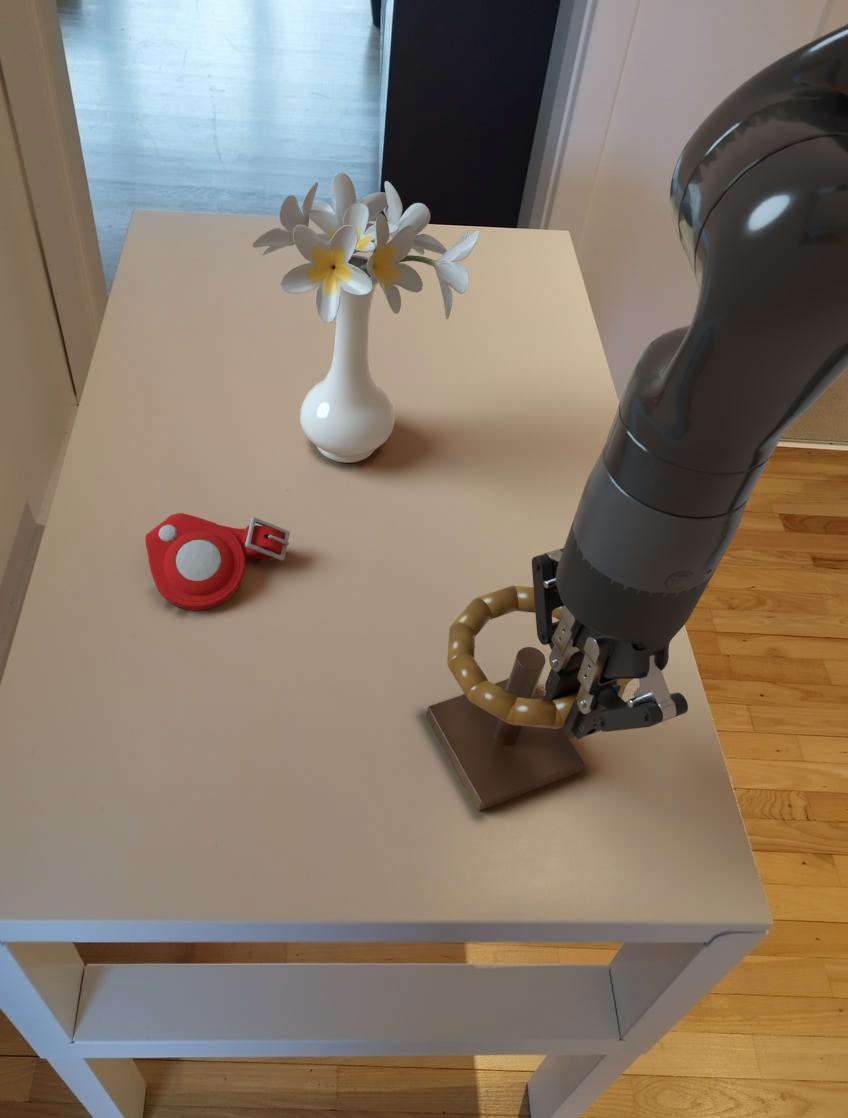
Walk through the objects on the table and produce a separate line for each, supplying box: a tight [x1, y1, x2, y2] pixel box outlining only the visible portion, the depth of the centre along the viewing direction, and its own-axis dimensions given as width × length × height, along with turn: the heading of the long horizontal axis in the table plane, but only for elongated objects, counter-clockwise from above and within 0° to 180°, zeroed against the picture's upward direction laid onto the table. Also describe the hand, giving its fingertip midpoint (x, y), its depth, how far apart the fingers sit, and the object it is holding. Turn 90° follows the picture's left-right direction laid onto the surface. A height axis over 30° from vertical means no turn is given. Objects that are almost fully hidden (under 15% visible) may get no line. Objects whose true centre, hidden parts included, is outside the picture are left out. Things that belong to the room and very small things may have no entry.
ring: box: [446, 585, 579, 729], centre depth 62 cm, size 12×12×2 cm
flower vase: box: [252, 171, 481, 464], centre depth 82 cm, size 13×18×25 cm
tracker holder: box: [144, 512, 291, 611], centre depth 80 cm, size 12×4×10 cm
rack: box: [425, 646, 585, 812], centre depth 67 cm, size 9×9×12 cm
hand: (567, 714), depth 60 cm, fingers closed on ring, 2 cm apart
